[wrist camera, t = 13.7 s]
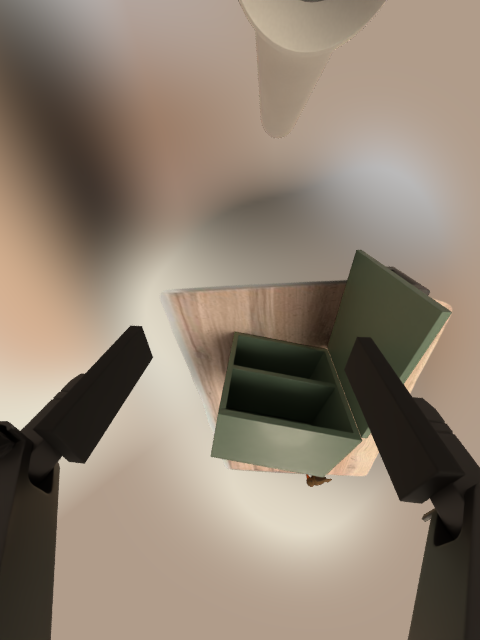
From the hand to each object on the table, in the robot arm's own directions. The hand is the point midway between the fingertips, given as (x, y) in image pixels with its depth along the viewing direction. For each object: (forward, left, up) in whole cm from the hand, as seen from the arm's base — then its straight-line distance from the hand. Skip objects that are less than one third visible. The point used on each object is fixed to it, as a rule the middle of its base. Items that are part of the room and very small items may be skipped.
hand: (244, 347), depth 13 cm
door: (+12, +26, -35) cm, 45 cm away
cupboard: (+35, +12, -35) cm, 51 cm away
